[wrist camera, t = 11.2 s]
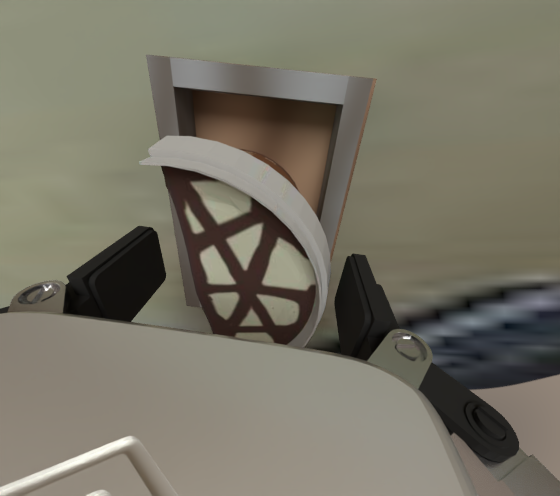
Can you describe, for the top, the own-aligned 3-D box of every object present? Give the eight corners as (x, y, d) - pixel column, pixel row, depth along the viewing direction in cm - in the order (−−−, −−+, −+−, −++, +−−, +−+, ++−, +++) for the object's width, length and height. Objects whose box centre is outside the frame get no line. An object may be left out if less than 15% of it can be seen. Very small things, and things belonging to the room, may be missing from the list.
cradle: (371, 81, 14) (391, 72, 11) (319, 295, 24) (322, 324, 21) (165, 59, 15) (128, 45, 11) (194, 280, 24) (178, 307, 21)
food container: (316, 274, 21) (329, 388, 12) (249, 274, 21) (216, 384, 13) (320, 118, 15) (352, 129, 6) (226, 124, 15) (131, 142, 7)
